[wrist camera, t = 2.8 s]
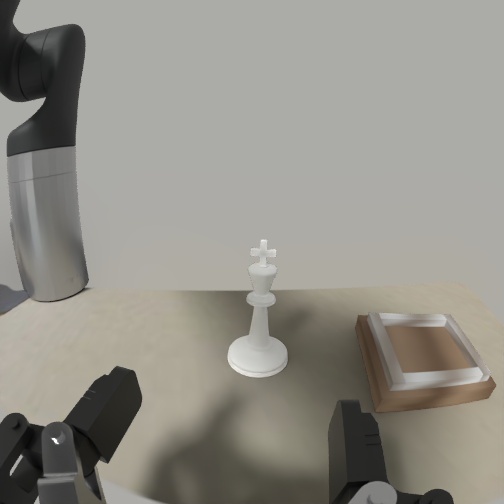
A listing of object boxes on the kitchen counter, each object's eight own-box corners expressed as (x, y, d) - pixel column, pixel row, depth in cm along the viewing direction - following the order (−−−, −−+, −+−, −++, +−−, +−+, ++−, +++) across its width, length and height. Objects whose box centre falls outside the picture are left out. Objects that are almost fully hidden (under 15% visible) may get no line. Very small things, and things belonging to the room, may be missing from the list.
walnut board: (375, 412, 17) (385, 390, 16) (355, 328, 27) (359, 308, 26) (488, 398, 15) (500, 378, 15) (446, 329, 26) (453, 311, 25)
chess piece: (232, 337, 26) (233, 228, 22) (287, 342, 25) (299, 232, 22) (222, 374, 21) (219, 250, 17) (287, 380, 20) (303, 256, 17)
